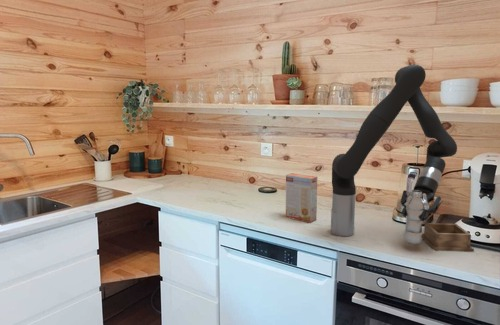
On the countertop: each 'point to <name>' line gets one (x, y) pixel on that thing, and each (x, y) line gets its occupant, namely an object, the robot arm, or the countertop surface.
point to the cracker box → (301, 197)
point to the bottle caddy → (447, 237)
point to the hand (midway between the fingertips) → (413, 217)
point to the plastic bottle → (414, 218)
